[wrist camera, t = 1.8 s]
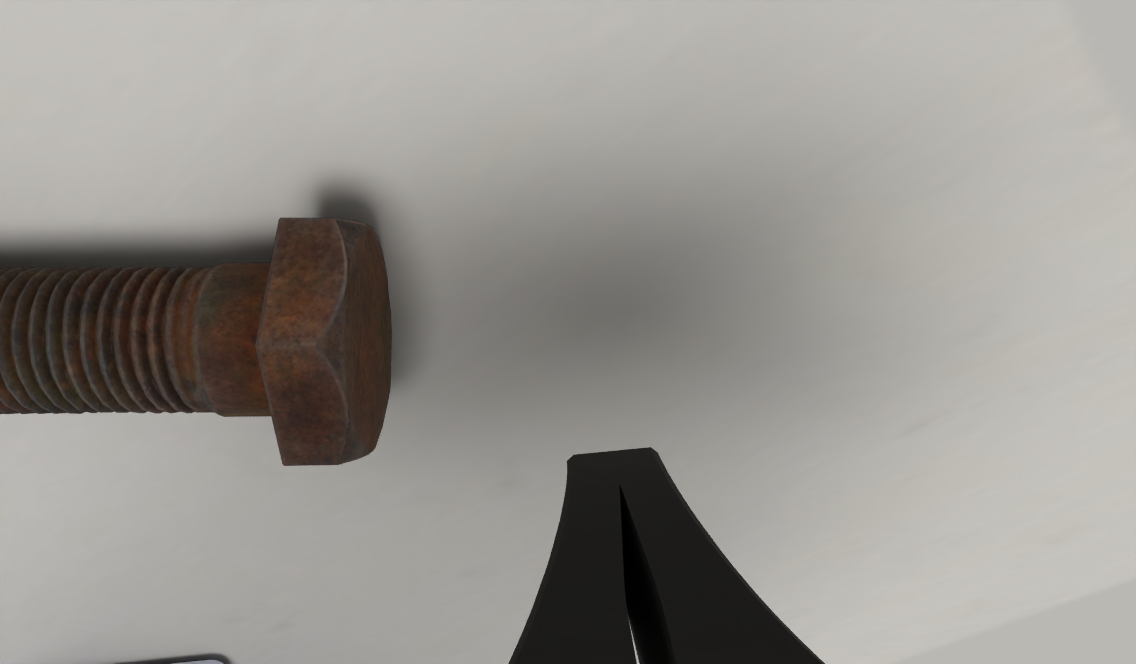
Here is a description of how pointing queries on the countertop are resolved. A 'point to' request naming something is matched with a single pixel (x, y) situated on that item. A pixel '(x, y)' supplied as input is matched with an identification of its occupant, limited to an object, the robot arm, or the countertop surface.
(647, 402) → the countertop surface
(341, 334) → the bolt
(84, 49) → the countertop surface
